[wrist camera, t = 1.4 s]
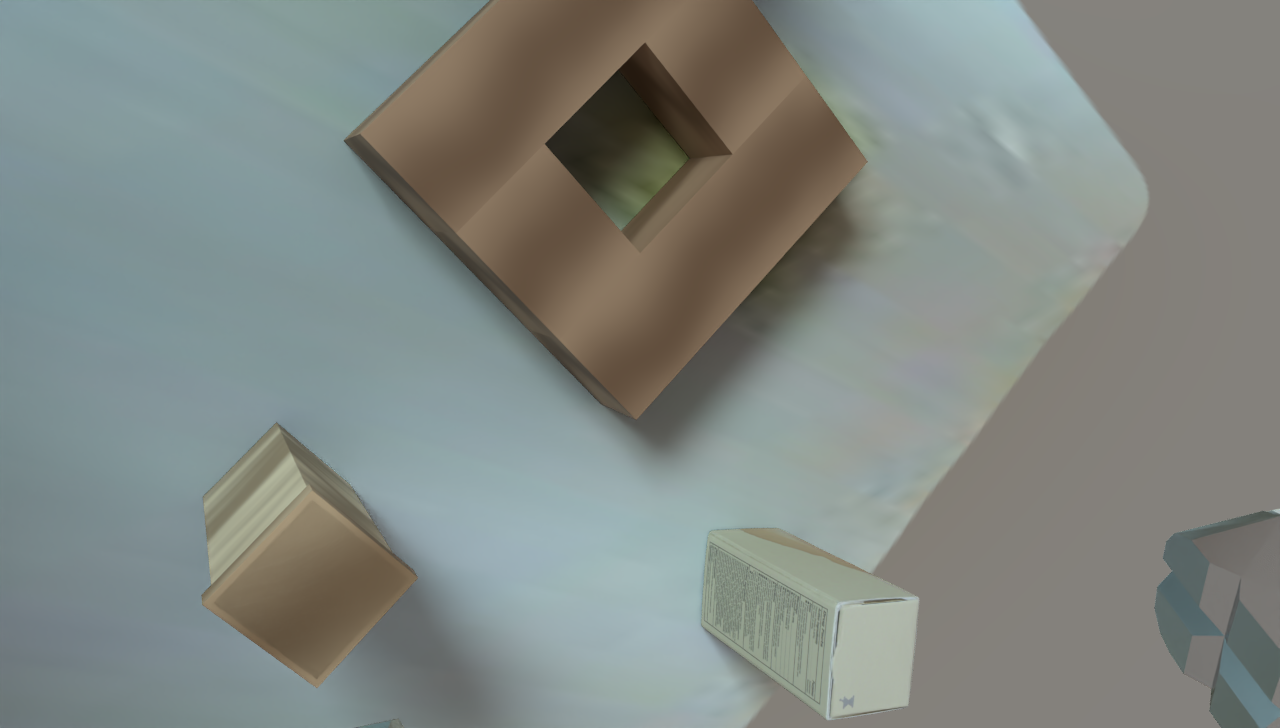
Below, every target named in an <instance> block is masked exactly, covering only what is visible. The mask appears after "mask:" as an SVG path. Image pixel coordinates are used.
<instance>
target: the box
mask: <svg viewBox="0 0 1280 728" xmlns="http://www.w3.org/2000/svg"><path fill="white" fill-rule="evenodd" d="M918 610H919V598H918V597H917V596H915V595H913V594H911V593H909V592H907V591H905V590H903V589H901V588H899V587H897V586H895V585H893V584H890V583H889V582H887V581H885V580H882V579H881V578H879V577H877V576H874V575H872V574H870V573H868V572H866V571H864V570H862V569H860V568H858V567H856V566H855V565H853V564H850V563H848V562H846V561H844V560H842V559H840V558H838V557H836V556H834V555H832V554H830V553H827V552H825V551H823V550H821V549H819V548H817V547H815V546H814V545H812V544H810V543H808V542H806V541H804V540H802V539H800V538H798V537H796V536H794V535H791V534H789V533H787V532H785V531H783V530H781V529H779V528H751V529H728V530H713V531H710V532H709V535H708V541H707V549H706V559H705V570H704V586H703V599H702V619H701V625H702V627H703V628H705V629H706V630H707V631H709V632H710V633H711V634H713V635H714V636H715V637H717V638H718V639H719V640H720V641H722V642H723V643H725V644H726V645H727V646H729V647H730V648H731V649H733V650H734V651H736V652H737V653H738V654H739V655H741V656H742V657H743V658H745V659H746V660H747V661H749V662H750V663H751V664H753V665H754V666H755V667H757V668H758V669H760V670H761V671H762V672H764V673H765V674H766V675H768V676H769V677H770V678H772V679H773V680H774V681H776V682H777V683H778V684H780V685H781V686H782V687H784V688H785V689H786V690H788V691H789V692H790V693H792V694H793V695H794V696H796V697H797V698H798V699H800V700H801V701H802V702H804V703H805V704H806V705H808V706H809V707H810V708H812V709H813V710H814V711H816V712H817V713H818V714H819V715H821V716H822V717H824V718H825V719H826V720H836V719H843V718H851V717H858V716H863V715H870V714H875V713H881V712H887V711H892V710H897V709H904V708H906V707H908V705H909V699H910V690H911V682H912V673H913V663H914V655H915V644H916V633H917V620H918Z"/></svg>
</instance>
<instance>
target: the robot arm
mask: <svg viewBox="0 0 1280 728" xmlns="http://www.w3.org/2000/svg"><path fill="white" fill-rule="evenodd" d="M1163 559H1164V561H1165V562H1166V563H1167V565H1168V566H1169V567H1170V569H1171V570H1172V572H1171V573H1170V574H1169V575H1168V576H1167V577H1166V578H1165V579H1164V580H1163V581H1162V582H1161V584H1160V585H1159V586H1158V587H1157V594H1156V601H1155V612H1156V617H1157V621H1158V626H1159V629H1160V633H1161V635H1162V638H1163V640H1164V642H1165V644H1166V646H1167V648H1168V650H1169V653H1170V654H1171V656H1172V657H1173V659H1174V660H1175V662H1176V663H1177V665H1178V666H1179V668H1180V669H1181V671H1182V672H1183V674H1185V675H1187V676H1189V677H1191V678H1192V679H1194V680H1196V681H1198V682H1200V683H1201V684H1203V685H1205V686H1207V687H1209V688H1211V698H1210V710H1209V711H1210V712H1211V714H1212V715H1213V717H1214V718H1215V720H1216V721H1217V723H1218V724H1219V725H1220V727H1221V728H1280V509H1276V510H1272V511H1269V512H1266V511H1261V512H1257V513H1253V514H1249V515H1246V516H1241V517H1237V518H1233V519H1229V520H1225V521H1221V522H1218V523H1213V524H1210V525H1205V526H1202V527H1198V528H1194V529H1190V530H1186V531H1182V532H1178V533H1175V534H1173V535H1172V536H1171V537H1170V538H1169V540H1167V541H1166V546H1165V550H1164V555H1163ZM356 728H404V727H403V725H402V723H401V722H400V720H399V719H393V720H388V721H384V722H379V723H374V724H370V725H365V726H360V727H356Z"/></svg>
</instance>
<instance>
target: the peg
mask: <svg viewBox="0 0 1280 728" xmlns="http://www.w3.org/2000/svg"><path fill="white" fill-rule="evenodd" d="M203 503H204V513H205V524H206V535H207V546H208V557H209V568H210V578H211V586H210V587H209V588H208V589H207V590H206V591H205V592H204V593H203V594H202V605H203V606H205V607H206V608H207V609H209V610H210V611H211V612H213V613H214V614H216V615H217V616H218V617H220V618H221V619H222V620H224V621H225V622H227V623H228V624H229V625H231V626H232V627H233V628H235V629H236V630H238V631H239V632H240V633H242V634H243V635H244V636H246V637H247V638H249V639H250V640H251V641H253V642H254V643H255V644H257V645H258V646H260V647H261V648H262V649H264V650H265V651H266V652H268V653H269V654H271V655H272V656H273V657H275V658H276V659H277V660H279V661H280V662H282V663H283V664H284V665H286V666H287V667H288V668H290V669H291V670H293V671H294V672H295V673H297V674H298V675H299V676H301V677H302V678H304V679H305V680H306V681H308V682H309V683H310V684H312V685H313V686H315V687H316V688H318V687H319V686H320V684H321V683H322V682H323V681H324V680H325V679H326V678H327V677H328V676H329V675H330V673H331V672H332V671H333V670H334V669H335V668H336V667H337V666H338V665H339V664H340V663H341V661H342V660H343V659H344V658H345V657H346V656H347V655H348V654H349V653H350V652H351V651H352V649H353V648H354V647H355V646H356V645H357V644H358V643H359V642H360V641H361V640H362V639H363V637H364V636H365V635H366V634H367V633H368V632H369V631H370V630H371V629H372V628H373V627H374V625H375V624H376V623H377V622H378V621H379V620H380V619H381V618H382V617H383V616H384V615H385V613H386V612H387V611H388V610H389V609H390V608H391V607H392V606H393V605H394V604H395V602H396V601H397V600H398V599H399V598H400V597H401V596H402V595H403V594H404V593H405V592H406V590H407V589H408V588H409V587H410V586H411V585H412V584H413V583H414V582H415V581H416V580H417V578H418V577H417V575H416V574H415V572H414V571H413V569H411V568H410V567H409V566H408V565H407V564H405V563H404V562H403V561H402V560H401V559H399V558H398V557H397V556H396V555H395V554H393V553H392V551H391V549H390V548H389V546H388V545H387V543H386V541H385V540H384V538H383V537H382V535H381V533H380V532H379V530H378V529H377V527H376V525H375V524H374V522H373V521H372V519H371V517H370V516H369V514H368V513H367V511H366V510H365V508H364V506H363V505H362V503H361V502H360V500H359V498H358V497H357V495H356V494H355V492H354V490H353V489H352V487H351V486H350V484H349V483H347V482H346V481H345V480H344V479H343V478H342V477H340V476H339V475H338V474H337V473H336V472H334V471H333V470H332V469H331V468H330V467H329V466H327V465H326V464H325V463H324V462H323V461H321V460H320V459H319V458H318V457H317V456H316V455H314V454H313V453H312V452H311V451H310V450H308V449H307V448H306V447H305V446H304V445H303V444H301V443H300V442H299V441H298V440H297V439H295V438H294V437H293V436H292V435H291V434H290V433H288V432H287V431H286V430H285V429H284V428H282V427H281V426H280V425H279V424H278V423H277V422H276V423H275V424H274V425H273V427H272V428H271V429H270V430H269V431H268V432H267V433H266V434H265V435H264V436H263V437H262V438H261V439H260V440H259V441H258V442H257V443H256V444H255V445H254V446H253V447H252V448H251V449H250V450H249V451H248V452H247V453H246V454H245V455H244V456H243V457H242V458H241V459H240V460H239V461H238V462H237V463H236V464H235V465H234V466H233V467H232V468H231V469H230V470H229V471H228V472H227V473H226V474H225V475H224V476H223V477H222V478H221V479H220V480H219V481H218V482H217V483H216V484H215V485H214V486H213V487H212V488H211V489H210V490H209V491H208V492H207V493H206V494H205V495H204V496H203Z"/></svg>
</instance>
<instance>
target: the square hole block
mask: <svg viewBox="0 0 1280 728" xmlns="http://www.w3.org/2000/svg"><path fill="white" fill-rule="evenodd" d="M617 70H619V71H620V72H621V74H622V75H623V76H624V77H625V79H626V80H627V81H628V82H629V84H630V85H631V86H632V87H633V89H634V90H635V91H636V92H637V94H638V95H639V96H640V97H641V98H642V100H643V101H644V102H645V103H646V105H647V106H648V107H649V108H650V110H651V111H652V112H653V113H654V115H655V116H656V117H657V118H658V120H659V121H660V122H661V123H662V125H663V126H664V127H665V128H666V129H667V131H668V132H669V133H670V134H671V136H672V137H673V138H674V139H675V141H676V142H677V143H678V144H679V146H680V147H681V148H682V149H683V151H684V152H685V153H686V154H687V156H688V157H689V158H690V159H689V160H688V161H687V162H686V163H685V164H684V165H683V166H682V167H681V168H680V169H679V170H678V171H677V172H676V174H675V175H674V176H673V177H672V178H671V179H670V180H669V181H668V182H667V183H666V184H665V185H664V186H663V187H662V188H661V189H660V190H659V192H658V193H657V194H656V195H655V196H654V197H653V198H652V199H651V200H650V201H649V202H648V203H647V204H646V205H645V206H644V207H643V208H642V209H641V211H640V212H639V213H638V214H637V215H636V216H635V217H634V218H633V219H632V220H631V221H630V222H629V223H628V224H627V225H626V226H625V227H624V229H623V230H622V231H620V230H619V228H618V227H617V226H616V225H615V224H614V223H613V222H612V220H611V219H610V218H609V217H608V216H607V215H606V214H605V212H604V211H603V210H602V209H601V208H600V207H599V206H598V204H597V203H596V202H595V201H594V200H593V199H592V198H591V196H590V195H589V194H588V193H587V192H586V191H585V190H584V188H583V187H582V186H581V185H580V184H579V183H578V182H577V180H576V179H575V178H574V177H573V176H572V175H571V174H570V172H569V171H568V170H567V169H566V168H565V167H564V166H563V164H562V163H561V162H560V161H559V160H558V159H557V158H556V156H555V155H554V154H553V153H552V152H551V151H550V150H549V148H548V147H547V146H546V145H545V143H546V142H547V141H548V140H549V139H550V138H551V137H552V136H553V135H554V134H555V133H556V132H557V131H558V130H559V129H560V128H561V127H562V126H563V125H564V124H565V123H566V122H567V121H568V120H569V119H570V118H571V117H572V116H573V115H574V114H575V113H576V112H577V111H578V110H579V109H580V108H581V107H582V106H583V105H584V103H585V102H586V101H587V100H588V99H589V98H590V97H591V96H592V95H593V94H594V93H595V92H596V91H597V90H598V89H599V88H600V87H601V86H602V85H603V84H604V83H605V82H606V81H607V80H608V79H609V78H610V77H611V76H612V75H613V74H614V73H615V72H616V71H617ZM344 141H345V142H346V143H347V144H348V145H349V146H350V147H351V148H352V149H353V150H354V152H355V153H356V154H357V155H358V156H359V157H360V158H361V159H362V160H363V161H364V162H365V163H366V164H367V165H368V166H369V167H370V168H371V169H372V170H373V171H374V172H375V173H376V174H377V175H378V176H379V177H380V178H381V179H382V180H383V181H384V182H385V183H386V184H387V185H388V186H389V187H390V188H391V189H392V190H393V191H394V192H395V194H396V195H397V196H398V197H399V198H400V199H401V200H402V201H403V202H404V203H405V204H406V205H407V206H408V207H409V208H410V209H411V210H412V211H413V212H414V213H415V214H416V215H417V216H418V217H419V218H420V219H421V220H422V221H423V222H424V223H425V224H426V225H427V226H428V227H429V228H430V229H431V230H432V231H433V232H434V233H435V234H436V235H437V237H438V238H439V239H440V240H441V241H442V242H443V243H444V244H445V245H446V246H447V247H448V248H449V249H450V250H451V251H452V252H453V253H454V254H455V255H456V256H457V257H458V258H459V259H460V260H461V261H462V262H463V263H464V264H465V265H466V266H467V267H468V268H469V269H470V270H471V271H472V272H473V273H474V274H475V275H476V276H477V277H478V278H479V280H480V281H481V282H482V283H483V284H484V285H485V286H486V287H487V288H488V289H489V290H490V291H491V292H492V293H493V294H494V295H495V296H496V297H497V298H498V299H499V300H500V301H501V302H502V303H503V304H504V305H505V306H506V307H507V308H508V309H509V310H510V311H511V312H512V313H513V314H514V315H515V316H516V317H517V318H518V319H519V320H520V322H521V323H522V324H523V325H524V326H525V327H526V328H527V329H528V330H529V331H530V332H531V333H532V334H533V335H534V336H535V337H536V338H537V339H538V340H539V341H540V342H541V343H542V344H543V345H544V346H545V347H546V348H547V349H548V350H549V351H550V352H551V353H552V354H553V355H554V356H555V357H556V358H557V359H558V360H559V361H560V362H561V363H562V365H563V366H564V367H565V368H566V369H567V370H568V371H569V372H570V373H571V374H572V375H573V376H574V377H575V378H576V379H577V380H578V381H579V382H580V383H581V384H582V385H583V386H584V387H585V388H586V389H587V390H588V391H589V392H590V393H591V394H592V395H593V396H594V397H595V398H596V399H597V400H598V401H599V402H600V403H601V404H603V405H605V406H607V407H609V408H611V409H613V410H616V411H618V412H620V413H622V414H624V415H627V416H629V417H631V418H633V419H635V420H637V419H638V418H639V416H640V415H641V414H642V413H643V412H644V411H645V410H646V409H647V407H648V406H649V405H650V404H651V403H652V402H653V401H654V400H655V399H656V397H657V396H658V395H659V394H660V393H661V392H662V391H663V390H664V389H665V387H666V386H667V385H668V384H669V383H670V382H671V381H672V380H673V378H674V377H675V376H676V375H677V374H678V373H679V372H680V371H681V370H682V368H683V367H684V366H685V365H686V364H687V363H688V362H689V361H690V359H691V358H692V357H693V356H694V355H695V354H696V353H697V352H698V351H699V349H700V348H701V347H702V346H703V345H704V344H705V343H706V342H707V341H708V339H709V338H710V337H711V336H712V335H713V334H714V333H715V332H716V330H717V329H718V328H719V327H720V326H721V325H722V324H723V323H724V322H725V320H726V319H727V318H728V317H729V316H730V315H731V314H732V313H733V312H734V310H735V309H736V308H737V307H738V306H739V305H740V304H741V303H742V301H743V300H744V299H745V298H746V297H747V296H748V295H749V294H750V293H751V291H752V290H753V289H754V288H755V287H756V286H757V285H758V284H759V282H760V281H761V280H762V279H763V278H764V277H765V276H766V275H767V274H768V272H769V271H770V270H771V269H772V268H773V267H774V266H775V265H776V264H777V262H778V261H779V260H780V259H781V258H782V257H783V256H784V255H785V253H786V252H787V251H788V250H789V249H790V248H791V247H792V246H793V245H794V243H795V242H796V241H797V240H798V239H799V238H800V237H801V236H802V235H803V233H804V232H805V231H806V230H807V229H808V228H809V227H810V226H811V224H812V223H813V222H814V221H815V220H816V219H817V218H818V217H819V216H820V214H821V213H822V212H823V211H824V210H825V209H826V208H827V207H828V205H829V204H830V203H831V202H832V201H833V200H834V199H835V198H836V197H837V195H838V194H839V193H840V192H841V191H842V190H843V189H844V188H845V187H846V185H847V184H848V183H849V182H850V181H851V180H852V179H853V178H854V176H855V175H856V174H857V173H858V172H859V171H860V170H861V169H862V168H863V166H864V165H865V164H866V163H867V162H868V161H867V160H866V159H865V157H864V156H863V154H862V153H861V152H860V150H859V149H858V147H857V146H856V145H855V143H854V142H853V140H852V139H851V138H850V136H849V135H848V133H847V132H846V131H845V129H844V128H843V126H842V125H841V124H840V122H839V121H838V119H837V118H836V117H835V115H834V114H833V112H832V111H831V110H830V108H829V107H828V106H827V104H826V103H825V101H824V100H823V99H822V97H821V96H820V94H819V93H818V92H817V90H816V89H815V87H814V86H813V85H812V83H811V82H810V80H809V79H808V78H807V76H806V75H805V73H804V72H803V71H802V69H801V68H800V66H799V65H798V64H797V62H796V61H795V59H794V58H793V57H792V55H791V54H790V52H789V51H788V50H787V48H786V47H785V45H784V44H783V43H782V41H781V40H780V38H779V37H778V36H777V34H776V33H775V31H774V30H773V29H772V27H771V26H770V24H769V23H768V22H767V20H766V19H765V17H764V16H763V15H762V13H761V12H760V11H759V9H758V8H757V6H756V5H755V4H754V2H753V1H752V0H490V1H489V2H488V3H487V4H486V5H485V6H484V7H483V8H482V9H481V10H480V11H479V12H477V13H476V14H475V15H474V16H473V17H472V18H471V19H470V20H469V21H468V22H467V23H466V24H465V25H464V26H463V27H462V28H461V29H460V30H459V31H458V32H457V33H455V34H454V35H453V36H452V37H451V38H450V39H449V40H448V41H447V42H446V43H445V44H444V45H443V46H442V47H441V48H440V49H439V50H438V51H437V52H436V53H435V54H434V55H432V56H431V57H430V58H429V59H428V60H427V61H426V62H425V63H424V64H423V65H422V66H421V67H420V68H419V69H418V70H417V71H416V72H415V73H414V74H413V75H412V76H410V77H409V78H408V79H407V80H406V81H405V82H404V83H403V84H402V85H401V86H400V87H399V88H398V89H397V90H396V91H395V92H394V93H393V94H392V95H391V96H390V97H388V98H387V99H386V100H385V101H384V102H383V103H382V104H381V105H380V106H379V107H378V108H377V109H376V110H375V111H374V112H373V113H372V114H371V115H370V116H369V117H368V118H367V119H365V120H364V121H363V122H362V123H361V124H360V125H359V126H358V127H357V128H356V129H355V130H354V131H353V132H352V133H351V134H350V135H349V136H348V137H347V138H346V139H345V140H344Z"/></svg>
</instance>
